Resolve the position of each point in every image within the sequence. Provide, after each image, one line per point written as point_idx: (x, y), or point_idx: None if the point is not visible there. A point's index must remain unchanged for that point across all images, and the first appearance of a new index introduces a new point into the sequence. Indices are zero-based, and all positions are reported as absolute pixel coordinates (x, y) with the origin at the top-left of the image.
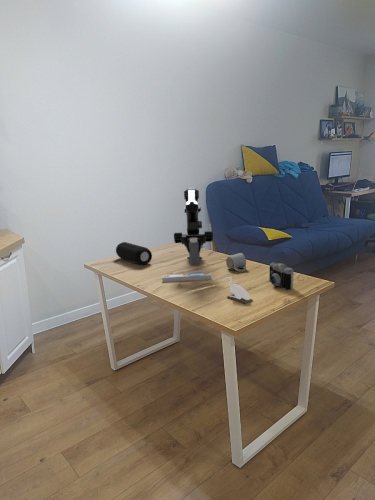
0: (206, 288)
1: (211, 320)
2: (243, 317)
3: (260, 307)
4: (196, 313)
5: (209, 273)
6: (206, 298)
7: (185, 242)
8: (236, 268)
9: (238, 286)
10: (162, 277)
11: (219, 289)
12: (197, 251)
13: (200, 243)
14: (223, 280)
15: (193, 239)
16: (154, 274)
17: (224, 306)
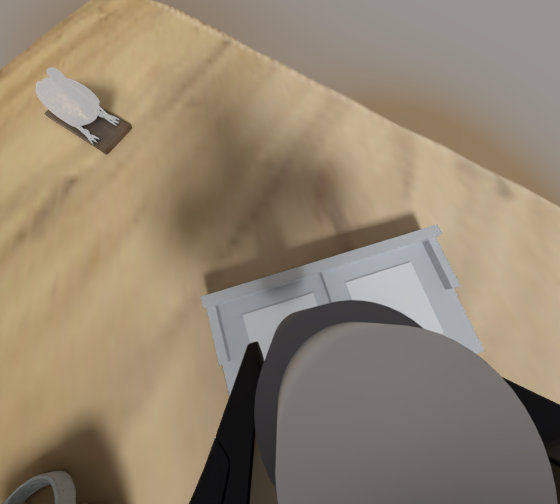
0: (215, 199)
1: (169, 6)
2: (89, 28)
3: (33, 82)
4: (213, 30)
5: (222, 360)
6: (201, 116)
7: (541, 405)
8: (56, 484)
9: (50, 81)
10: (439, 229)
11: (163, 196)
12: (274, 335)
13: (227, 459)
14: (106, 113)
15: (359, 330)
16: (533, 351)
17: (139, 74)
